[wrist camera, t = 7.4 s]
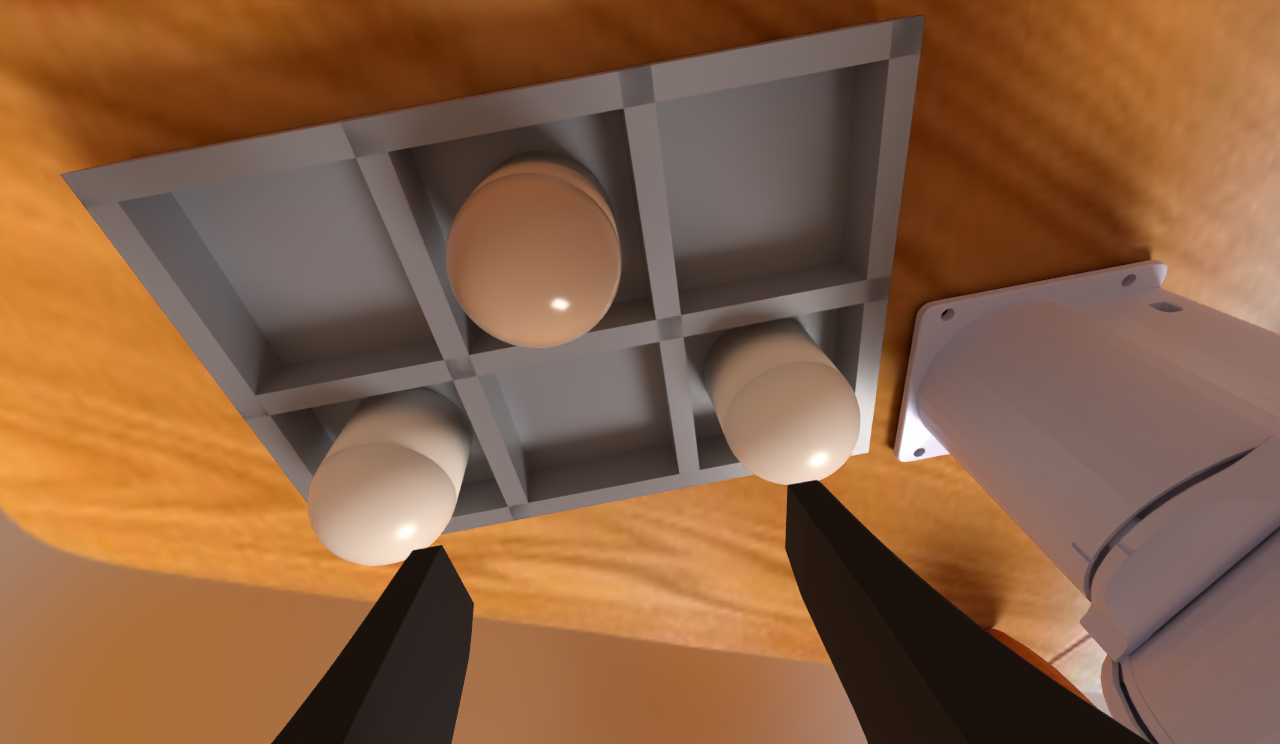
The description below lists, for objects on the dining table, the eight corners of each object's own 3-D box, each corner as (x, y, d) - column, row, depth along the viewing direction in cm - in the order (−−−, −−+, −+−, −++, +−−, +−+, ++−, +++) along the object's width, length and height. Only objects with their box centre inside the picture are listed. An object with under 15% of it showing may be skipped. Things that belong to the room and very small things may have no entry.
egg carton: (879, 20, 14) (1042, 0, 9) (843, 418, 22) (920, 523, 17) (129, 158, 14) (-116, 213, 9) (364, 510, 22) (303, 642, 17)
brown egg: (602, 140, 14) (609, 177, 10) (625, 281, 17) (640, 364, 12) (452, 165, 14) (388, 214, 10) (496, 303, 17) (462, 394, 12)
